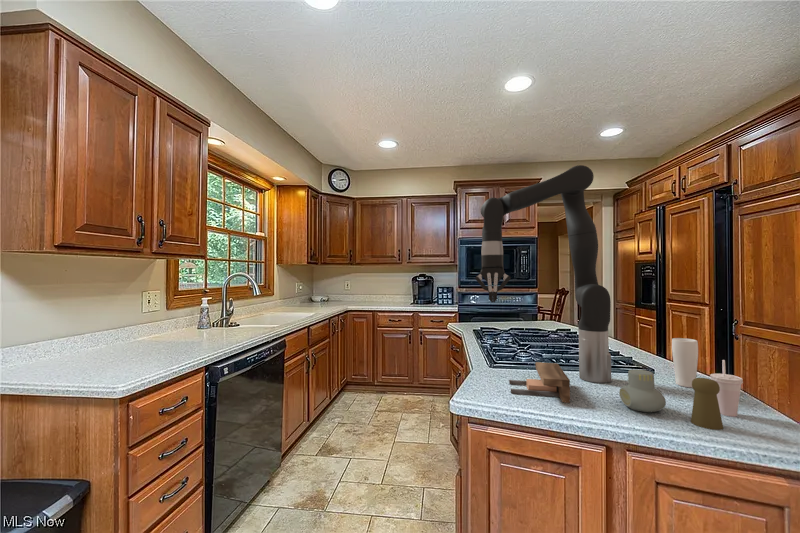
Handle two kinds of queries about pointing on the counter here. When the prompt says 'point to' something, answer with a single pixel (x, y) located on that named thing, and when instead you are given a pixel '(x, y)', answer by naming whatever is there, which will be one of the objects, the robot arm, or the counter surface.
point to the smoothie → (728, 392)
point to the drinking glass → (685, 360)
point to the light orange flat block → (538, 385)
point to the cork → (706, 404)
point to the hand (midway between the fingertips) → (492, 302)
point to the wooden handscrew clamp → (548, 382)
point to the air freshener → (642, 392)
